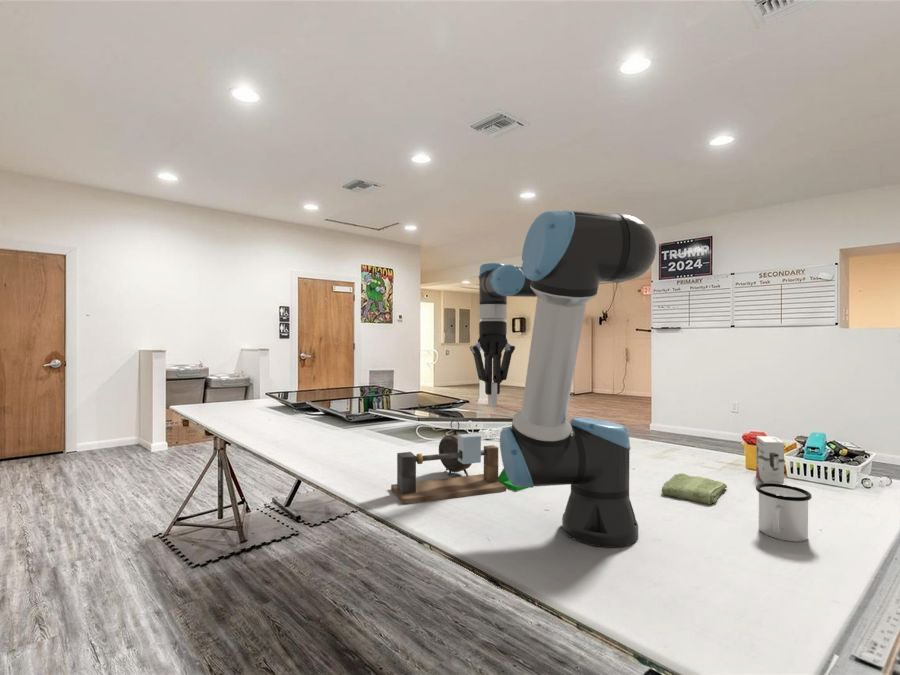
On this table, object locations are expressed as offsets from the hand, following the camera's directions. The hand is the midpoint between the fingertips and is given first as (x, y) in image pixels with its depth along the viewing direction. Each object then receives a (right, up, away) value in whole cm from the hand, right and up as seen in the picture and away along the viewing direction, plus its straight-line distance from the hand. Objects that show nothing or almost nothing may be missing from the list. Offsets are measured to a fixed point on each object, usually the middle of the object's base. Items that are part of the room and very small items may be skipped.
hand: (492, 406), depth 129 cm
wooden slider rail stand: (-12, -22, -5) cm, 25 cm away
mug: (+56, -22, -33) cm, 69 cm away
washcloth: (+53, -22, -5) cm, 57 cm away
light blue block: (-6, -15, -3) cm, 16 cm away
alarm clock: (-10, -22, +9) cm, 26 cm away
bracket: (+8, -22, +1) cm, 24 cm away
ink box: (+79, -22, +4) cm, 82 cm away
